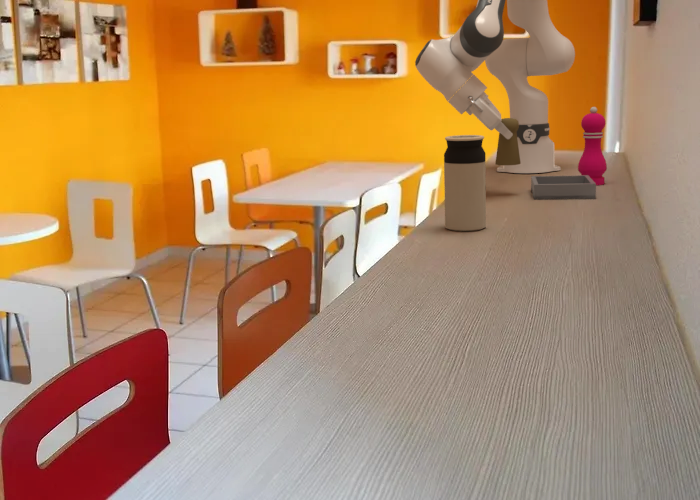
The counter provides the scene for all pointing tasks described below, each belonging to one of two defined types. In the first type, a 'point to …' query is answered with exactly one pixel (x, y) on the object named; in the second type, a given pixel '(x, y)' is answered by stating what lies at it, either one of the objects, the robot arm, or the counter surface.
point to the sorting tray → (563, 187)
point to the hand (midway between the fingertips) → (510, 135)
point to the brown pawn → (508, 145)
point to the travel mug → (465, 183)
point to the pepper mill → (593, 147)
